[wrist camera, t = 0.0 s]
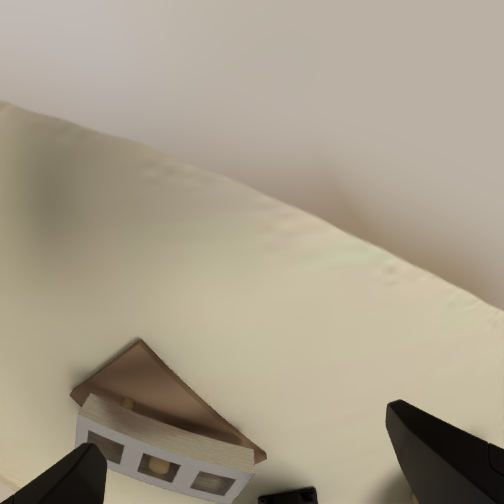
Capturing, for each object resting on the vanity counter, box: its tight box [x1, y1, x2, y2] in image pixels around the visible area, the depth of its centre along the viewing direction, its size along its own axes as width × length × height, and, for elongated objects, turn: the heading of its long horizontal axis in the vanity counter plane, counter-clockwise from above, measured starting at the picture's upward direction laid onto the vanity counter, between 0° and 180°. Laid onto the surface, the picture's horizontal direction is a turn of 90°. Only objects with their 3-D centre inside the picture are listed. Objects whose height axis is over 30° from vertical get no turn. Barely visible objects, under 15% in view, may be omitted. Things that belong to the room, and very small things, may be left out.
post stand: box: [70, 339, 267, 474], centre depth 23 cm, size 16×10×5 cm, turn 37°
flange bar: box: [75, 393, 255, 504], centre depth 21 cm, size 14×6×3 cm, turn 67°
